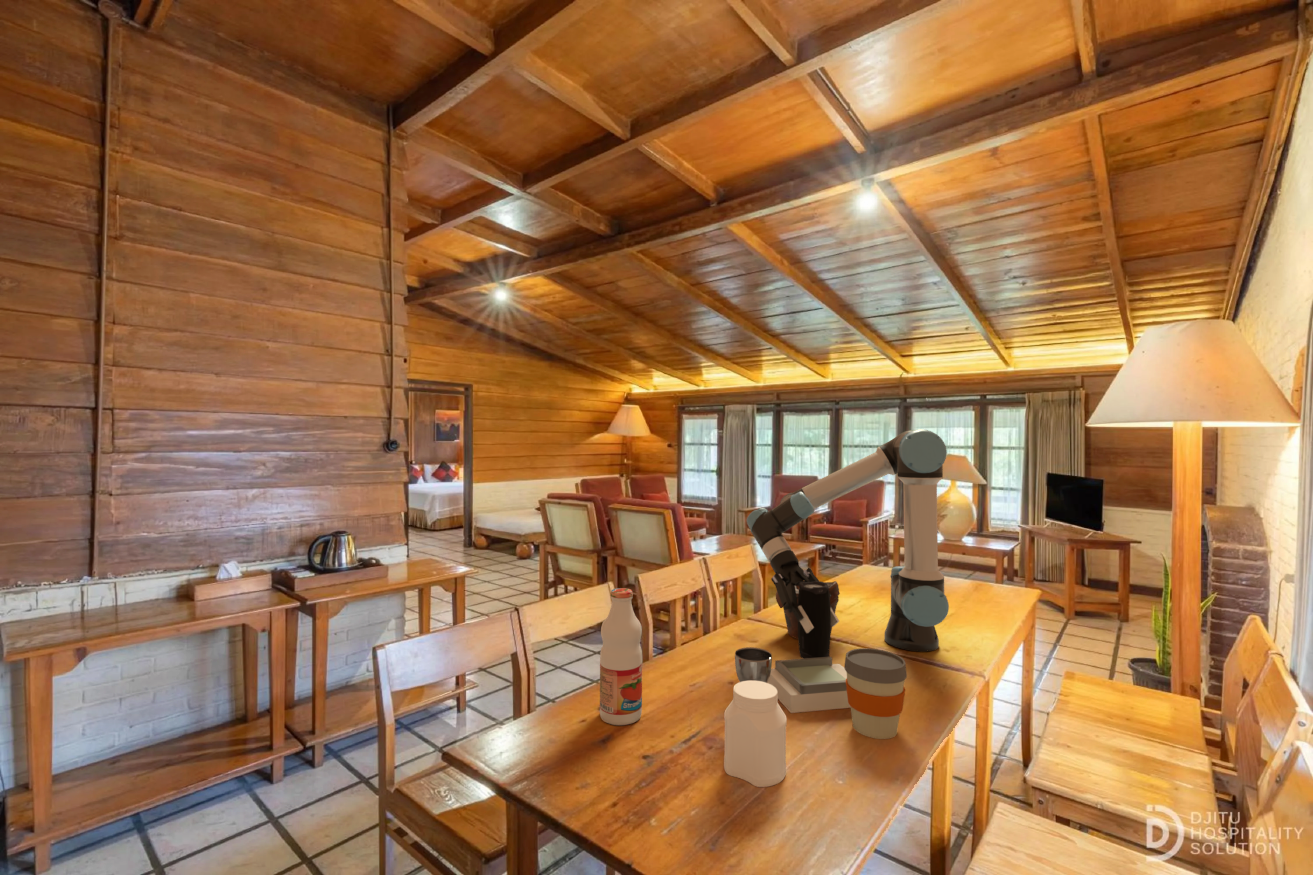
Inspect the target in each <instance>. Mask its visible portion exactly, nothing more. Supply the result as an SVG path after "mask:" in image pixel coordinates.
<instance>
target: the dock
mask: <svg viewBox="0 0 1313 875" xmlns="http://www.w3.org/2000/svg"><path fill="white" fill-rule="evenodd" d="M774 662H775V663H774V665H775V666H774V668H771V674H770V678H769V681H768V682H767V683H769V684H771V685H773V686H774V687H775V688H776V689H777V691H778V695H777V696H778V700H779V702H780V704H782V705H783V706H784V707H785V708H786V709H787V710H788V711H789V713H790V714H794V713H795V714H796V713H806V712H816V711H828V710H836V709H837V710H839V709H848V708H850V709H851V706H850V705H849V703H848V697H847V689H846V679H847V673H846V670H845V668H844V666H843V665H842V664H840V663H833V658H832V656H829V657H818V658H804V659H803V658H795V659H794V658H793V659H791V658H790V659H779V660H775V661H774Z"/></svg>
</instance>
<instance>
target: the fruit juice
mask: <svg viewBox="0 0 1313 875" xmlns="http://www.w3.org/2000/svg"><path fill="white" fill-rule="evenodd" d="M633 595H634V593H633V590H632V589H630V588H625V587H620V588H619V587H617V588H613V589H611V590H610V599H611V605H610V609H609V612H608V615H607V617H606V618H605V619H604V620H603V622H602V624H601V628H600V637H601V639H602V640H601V641H602V647H601V648H600V652H599V655H600V656H599V716H600V718H601V720H602V721H603V722H605V723H606V724H609V725H612V726H627V725H632V724H634V723H635V722H638V721H639V720H640V719H641V716H642V714H643V713H642V712H643V650H642V647H641V644H640V641H641V638H642V634H643V632H642V628H643V627H642V624H641V622H640V620H639V619H638V618H637V616H636V614H635V612H634V608H633V605H632V599H633Z"/></svg>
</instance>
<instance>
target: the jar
mask: <svg viewBox="0 0 1313 875" xmlns="http://www.w3.org/2000/svg"><path fill="white" fill-rule="evenodd" d="M732 692H733V693H732V694H733V695H732V700H731V702H730V703H729V705H728V706H727V707H726V709H725V710H724V714H723V716H724V718H723V719H724V757H723V769H724V771H725V773H726V775H728V776H730V777H733V778H734V777H735V778H738V779H740V780H743V781H746V782H747V783H749V784H750V785H752V786H755V787H757V788H767V787H772V786H775V785H778V784H779V783H781V782H782V781H783V780H784V779H785V777H786V775H787V762H786V758H787V756H786V754H787V748H786V747H787V746H786V744H787V742H786V741H787V721H788V720H787V715H786V714H785V712H784V711H783V709H782V708H781V706H780V704H779V703H778V702H779V701H778V700H779V699H778V696H777V695H778V691H777V689H776V688H775V687H774V686H773V685H771V684H769V683H766V682H762V681H753V680H750V681H742V682H740V681H739V682H737V683H735V684H734V686H733V691H732Z"/></svg>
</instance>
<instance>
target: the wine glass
mask: <svg viewBox="0 0 1313 875" xmlns="http://www.w3.org/2000/svg"><path fill="white" fill-rule="evenodd" d="M772 661H773V655H772V653H771V652H770V651H769V650H767V649H764V648H760V647H752V646H751V647H750V646H749V647H741V648H738V649H736V650H735V652H734V662H735V663H734V666H735V672H736V676H737V680H738V681H739V682H742V681H750V680H753V681H762V682H766V683H767V682H768V681H769V678H770V674H771V669H772V667H773V666H772V665H773V662H772Z"/></svg>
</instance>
